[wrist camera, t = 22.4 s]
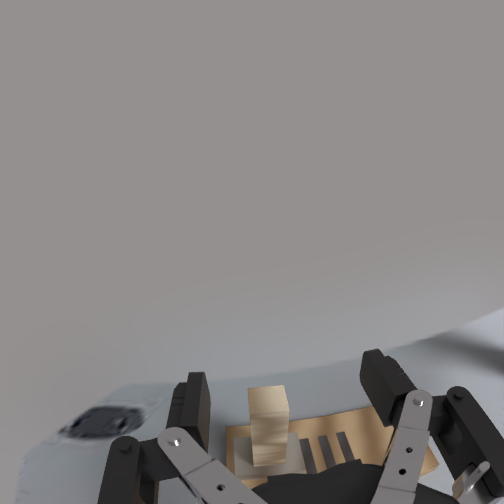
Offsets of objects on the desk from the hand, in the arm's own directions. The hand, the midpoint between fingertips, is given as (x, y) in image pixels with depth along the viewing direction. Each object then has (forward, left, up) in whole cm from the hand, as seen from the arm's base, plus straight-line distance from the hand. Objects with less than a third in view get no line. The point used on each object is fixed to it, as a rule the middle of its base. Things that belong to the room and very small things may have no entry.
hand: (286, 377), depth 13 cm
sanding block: (-8, -4, -23) cm, 25 cm away
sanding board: (-10, +4, -24) cm, 27 cm away
